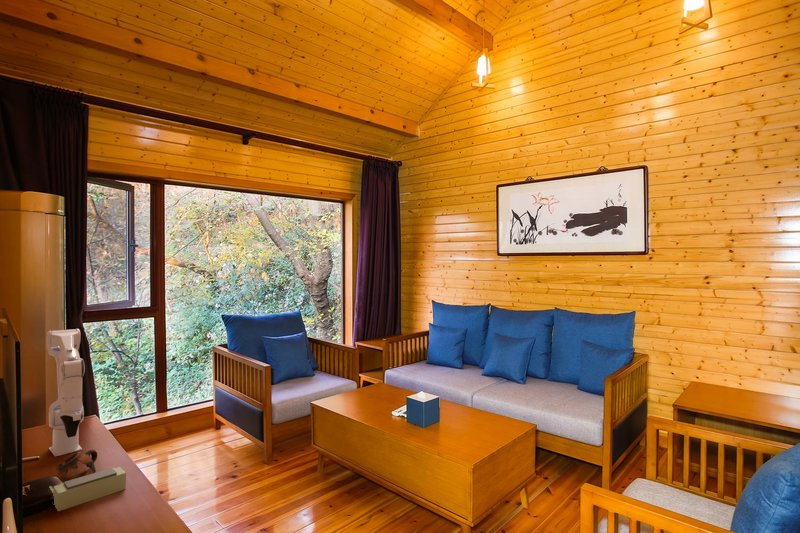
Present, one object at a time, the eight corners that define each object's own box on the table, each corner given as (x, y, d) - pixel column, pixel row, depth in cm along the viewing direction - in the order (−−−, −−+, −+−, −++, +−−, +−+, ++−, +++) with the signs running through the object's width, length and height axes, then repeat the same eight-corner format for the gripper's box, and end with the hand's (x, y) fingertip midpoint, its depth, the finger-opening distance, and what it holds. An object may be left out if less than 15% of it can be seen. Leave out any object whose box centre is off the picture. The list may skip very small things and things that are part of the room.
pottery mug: (84, 484, 138) (68, 464, 137) (61, 494, 140) (45, 474, 138) (111, 458, 150) (96, 438, 148) (89, 467, 152) (75, 448, 150)
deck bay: (48, 496, 130) (49, 477, 130) (114, 476, 143) (114, 459, 142) (58, 511, 123) (58, 491, 123) (125, 489, 135) (125, 470, 135)
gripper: (52, 394, 152) (51, 433, 152) (62, 403, 142) (62, 446, 143) (76, 389, 157) (76, 428, 157) (88, 399, 148) (88, 439, 148)
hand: (71, 436), depth 150 cm, fingers closed
